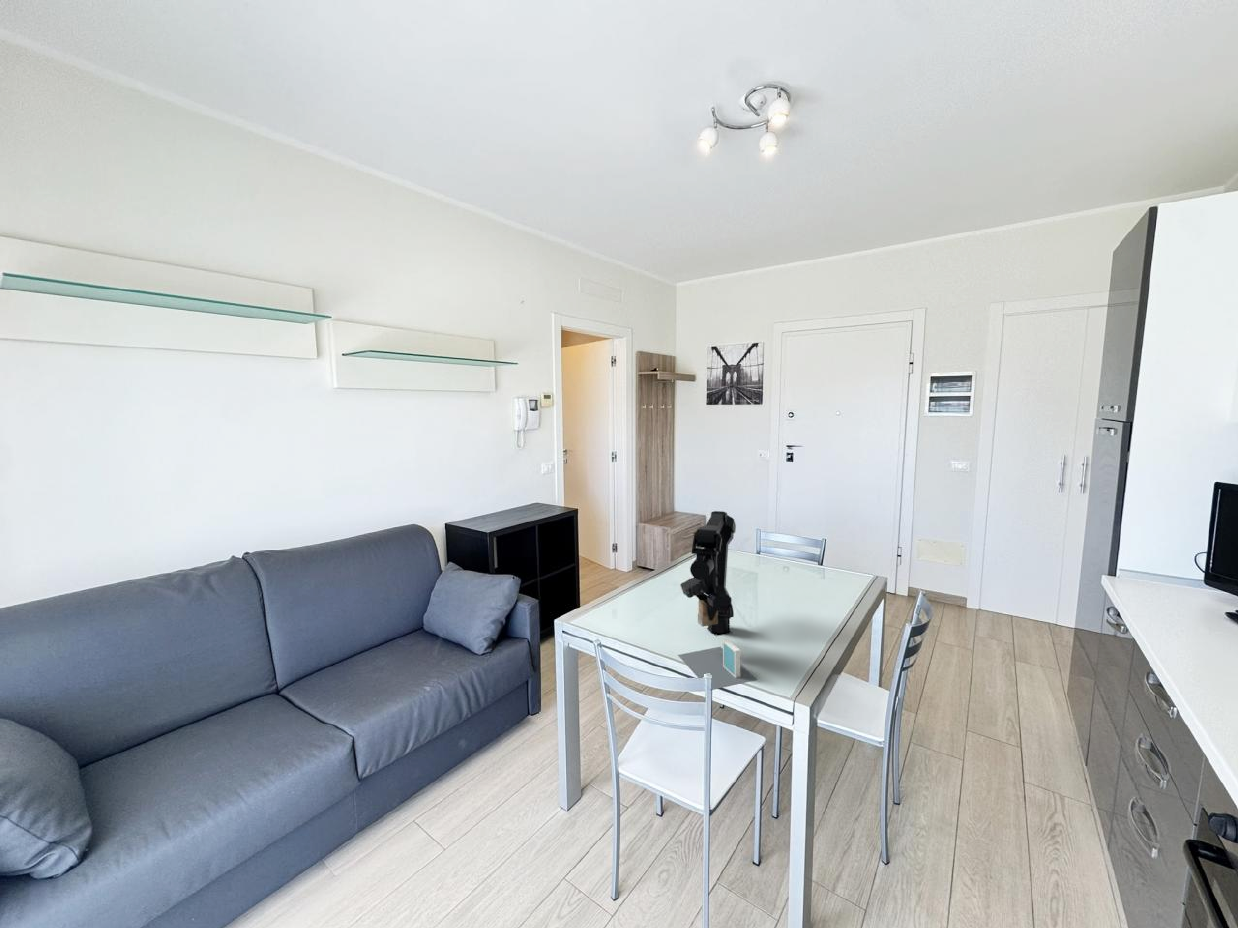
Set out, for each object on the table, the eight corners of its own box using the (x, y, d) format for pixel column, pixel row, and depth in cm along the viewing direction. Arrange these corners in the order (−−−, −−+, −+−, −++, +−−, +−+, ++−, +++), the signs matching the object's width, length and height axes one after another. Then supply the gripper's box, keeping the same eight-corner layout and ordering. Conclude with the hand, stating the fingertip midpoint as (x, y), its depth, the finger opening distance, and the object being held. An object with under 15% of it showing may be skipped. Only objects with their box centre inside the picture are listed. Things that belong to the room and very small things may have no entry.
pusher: (713, 620, 157) (712, 598, 156) (717, 623, 154) (717, 601, 153) (697, 622, 155) (697, 601, 154) (702, 626, 152) (702, 604, 152)
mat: (720, 647, 160) (720, 646, 160) (757, 680, 140) (757, 679, 140) (677, 656, 155) (677, 654, 155) (709, 691, 135) (709, 690, 135)
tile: (727, 664, 148) (727, 639, 147) (740, 676, 141) (740, 649, 141) (723, 665, 148) (722, 640, 147) (735, 677, 141) (735, 650, 140)
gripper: (671, 563, 159) (672, 610, 161) (697, 582, 141) (698, 634, 143) (702, 559, 162) (703, 605, 164) (732, 577, 145) (732, 628, 146)
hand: (708, 618), depth 154 cm, fingers closed on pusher, 3 cm apart
